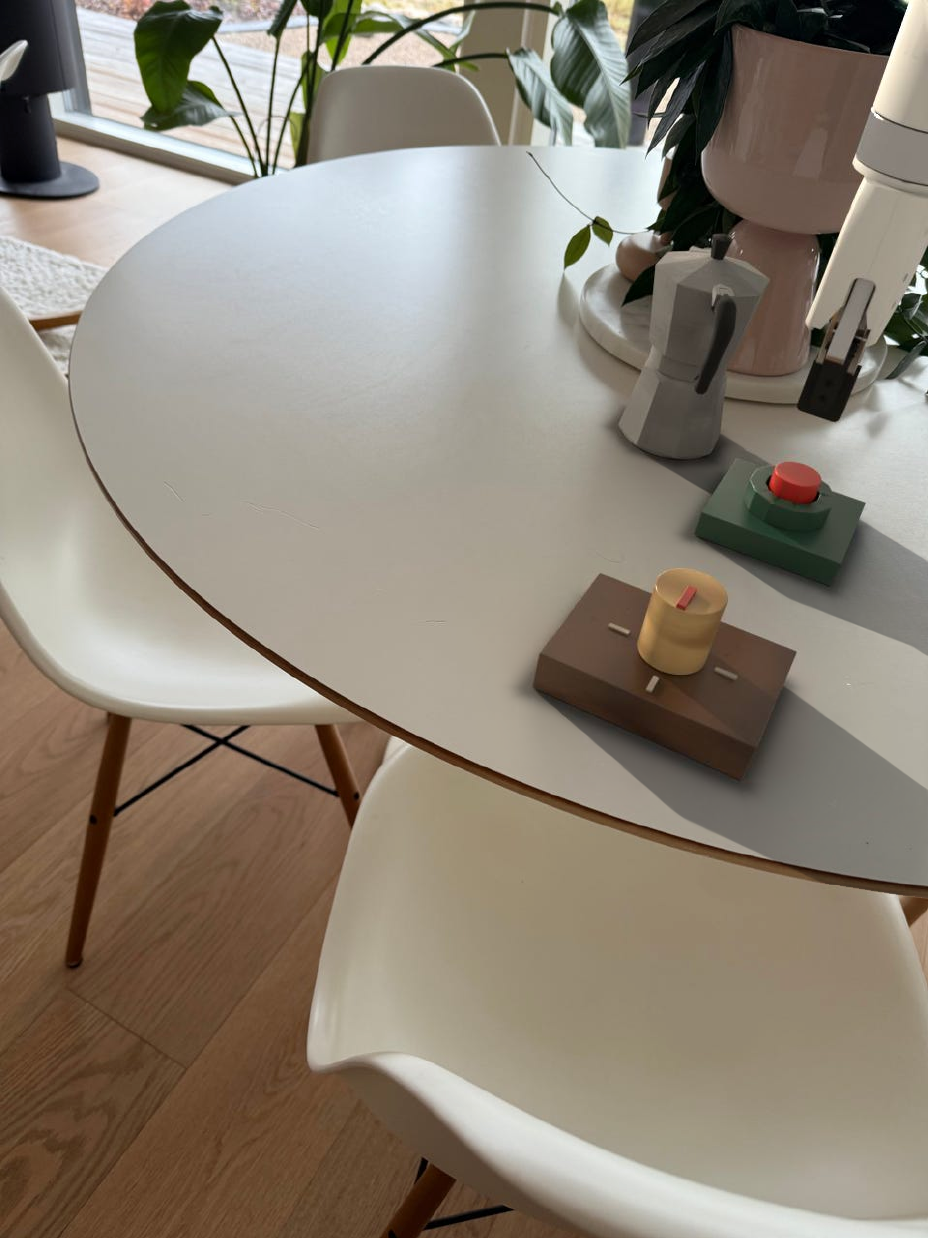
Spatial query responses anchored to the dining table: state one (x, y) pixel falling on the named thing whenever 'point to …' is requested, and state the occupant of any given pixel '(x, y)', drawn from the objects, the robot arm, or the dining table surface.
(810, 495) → the button
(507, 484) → the dining table surface
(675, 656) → the dial
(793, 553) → the button box
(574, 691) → the panel
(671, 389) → the coffeepot
